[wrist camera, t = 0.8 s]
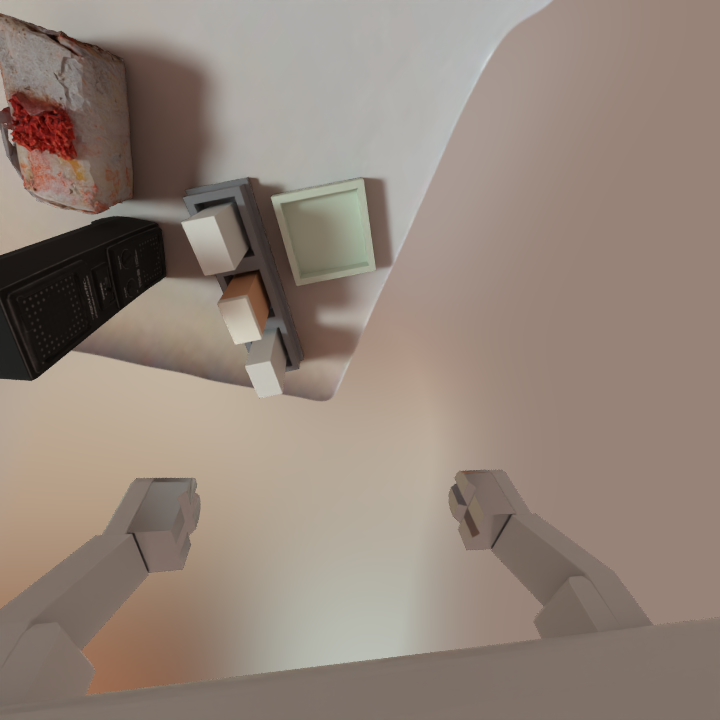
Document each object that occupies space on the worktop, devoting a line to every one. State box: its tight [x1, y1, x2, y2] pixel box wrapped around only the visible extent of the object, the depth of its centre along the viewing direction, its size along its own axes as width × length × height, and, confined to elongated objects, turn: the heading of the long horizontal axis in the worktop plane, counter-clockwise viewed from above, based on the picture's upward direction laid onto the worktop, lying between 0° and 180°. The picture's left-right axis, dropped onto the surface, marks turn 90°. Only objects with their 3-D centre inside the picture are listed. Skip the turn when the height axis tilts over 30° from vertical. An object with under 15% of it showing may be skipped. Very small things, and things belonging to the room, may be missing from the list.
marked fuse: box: [217, 269, 271, 345], centre depth 39 cm, size 5×3×10 cm, turn 9°
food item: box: [0, 14, 133, 214], centre depth 29 cm, size 14×8×10 cm, turn 164°
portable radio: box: [0, 216, 167, 381], centre depth 30 cm, size 8×6×25 cm
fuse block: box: [181, 177, 304, 398], centre depth 39 cm, size 25×7×11 cm, turn 9°
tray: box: [271, 177, 376, 286], centre depth 40 cm, size 11×11×2 cm
